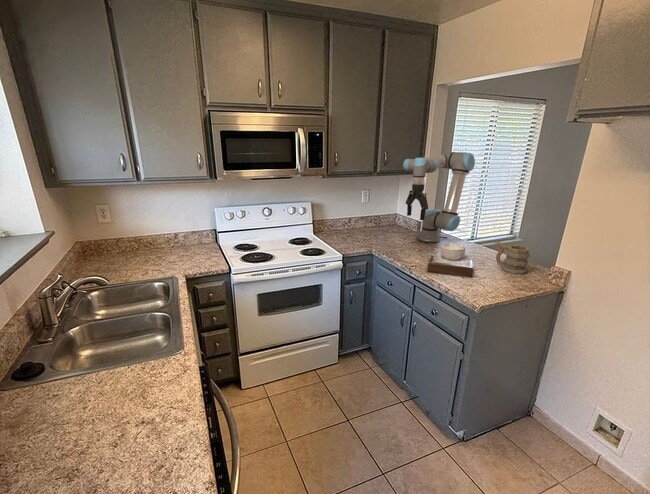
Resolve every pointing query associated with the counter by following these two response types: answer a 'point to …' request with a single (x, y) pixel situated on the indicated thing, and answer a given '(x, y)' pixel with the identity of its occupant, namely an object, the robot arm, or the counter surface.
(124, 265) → the counter surface
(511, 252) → the tankard
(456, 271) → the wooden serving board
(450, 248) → the paper bowls
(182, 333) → the counter surface
